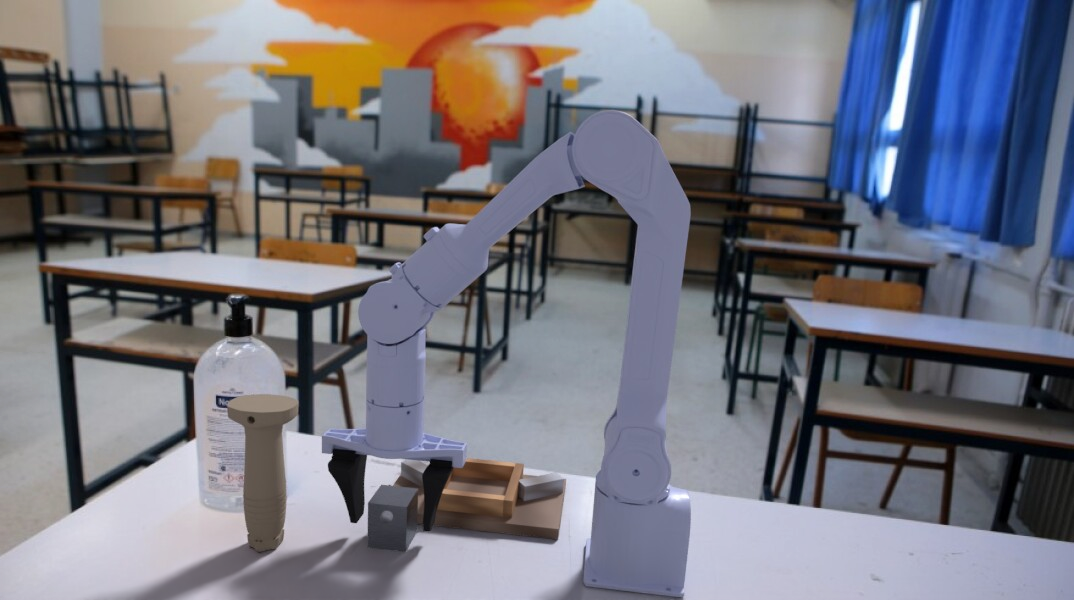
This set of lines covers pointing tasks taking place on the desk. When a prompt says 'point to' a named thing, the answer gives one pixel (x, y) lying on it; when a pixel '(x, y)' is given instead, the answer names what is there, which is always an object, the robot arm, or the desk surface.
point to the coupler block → (392, 518)
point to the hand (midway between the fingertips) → (392, 522)
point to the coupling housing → (493, 498)
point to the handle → (264, 464)
